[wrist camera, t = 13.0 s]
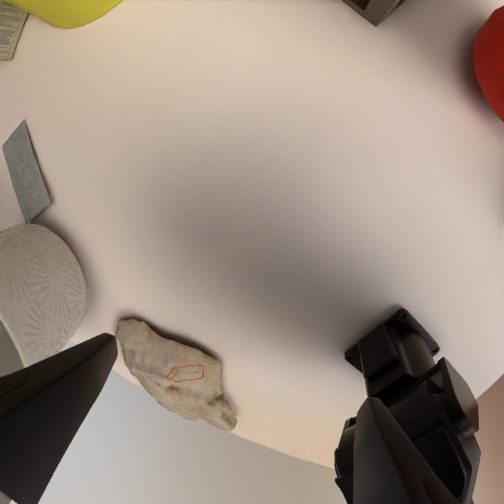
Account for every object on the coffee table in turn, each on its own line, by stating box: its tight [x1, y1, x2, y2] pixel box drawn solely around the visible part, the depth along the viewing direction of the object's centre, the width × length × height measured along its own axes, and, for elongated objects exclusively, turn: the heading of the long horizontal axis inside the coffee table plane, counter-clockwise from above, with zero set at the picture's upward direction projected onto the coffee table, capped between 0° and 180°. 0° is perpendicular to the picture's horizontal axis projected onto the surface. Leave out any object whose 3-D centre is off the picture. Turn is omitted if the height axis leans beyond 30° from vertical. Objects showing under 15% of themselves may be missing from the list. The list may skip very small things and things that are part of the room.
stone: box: [115, 319, 237, 431], centre depth 27 cm, size 13×11×3 cm
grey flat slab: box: [2, 120, 51, 224], centre depth 22 cm, size 9×5×1 cm, turn 22°
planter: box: [0, 224, 87, 377], centre depth 21 cm, size 12×12×11 cm
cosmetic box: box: [0, 0, 28, 60], centre depth 13 cm, size 6×4×12 cm
